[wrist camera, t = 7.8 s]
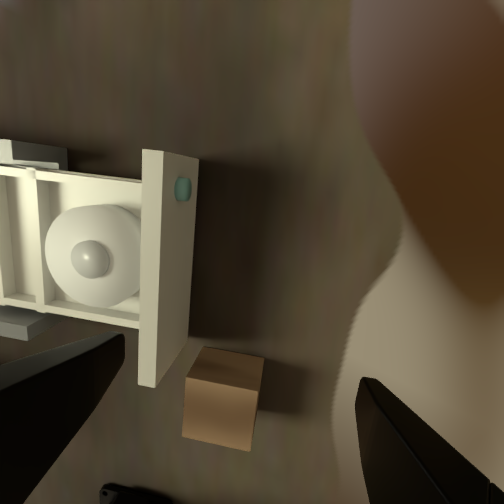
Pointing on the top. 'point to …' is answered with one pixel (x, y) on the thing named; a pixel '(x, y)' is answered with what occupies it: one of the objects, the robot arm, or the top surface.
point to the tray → (151, 254)
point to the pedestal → (222, 398)
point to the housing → (11, 317)
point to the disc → (95, 254)
